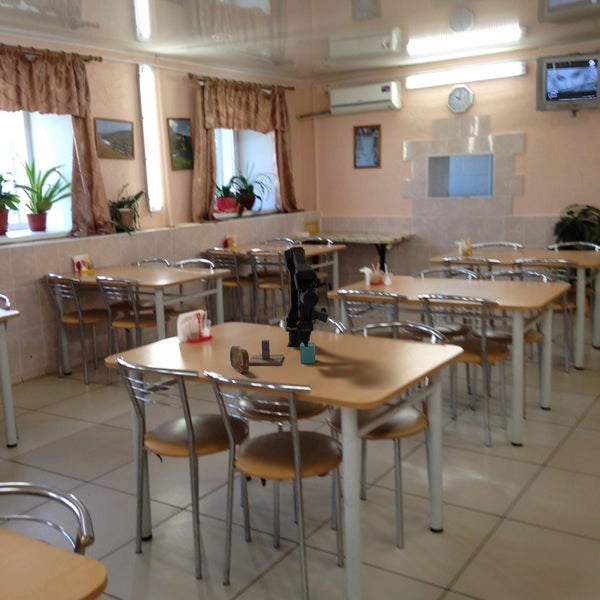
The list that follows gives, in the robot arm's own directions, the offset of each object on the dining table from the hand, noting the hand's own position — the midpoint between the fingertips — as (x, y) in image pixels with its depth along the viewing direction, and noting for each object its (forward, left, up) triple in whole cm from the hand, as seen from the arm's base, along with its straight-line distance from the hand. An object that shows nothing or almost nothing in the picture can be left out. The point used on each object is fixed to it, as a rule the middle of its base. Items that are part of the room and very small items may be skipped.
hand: (307, 343), depth 262 cm
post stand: (-1, -16, -7) cm, 17 cm away
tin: (+11, -24, -7) cm, 27 cm away
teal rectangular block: (0, 0, -7) cm, 7 cm away
